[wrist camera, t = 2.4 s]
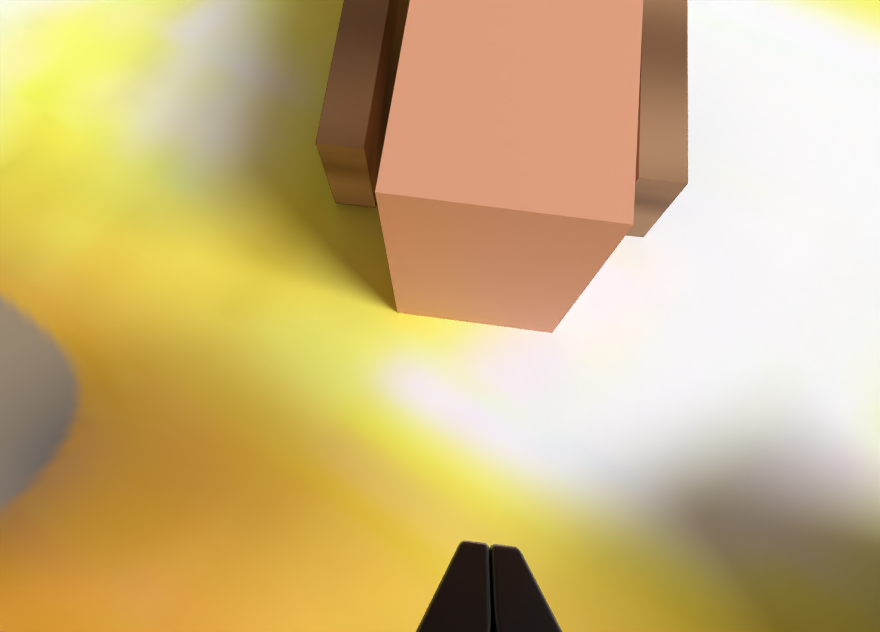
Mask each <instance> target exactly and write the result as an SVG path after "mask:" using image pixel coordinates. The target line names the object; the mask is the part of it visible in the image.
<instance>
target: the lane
mask: <svg viewBox="0 0 880 632" xmlns="http://www.w3.org/2000/svg"><path fill="white" fill-rule="evenodd" d="M408 1H409V0H344V3H343V8H342V13H341V18H340V23H339V28H338V33H337V38H336V43H335V48H334V53H333V58H332V63H331V68H330V73H329V78H328V83H327V88H326V93H325V98H324V104H323V109H322V114H321V119H320V124H319V129H318V134H317V139H316V145H317V148H318V151H319V154H320V157H321V160H322V163H323V166H324V169H325V173H326V176H327V179H328V182H329V185H330V188H331V191H332V194H333V197H334V200H335V203H341V204H350V205H359V206H368V207H375V206H376V194H375V190H376V184H377V179H378V173H379V168H380V162H381V157H382V151H383V146H384V140H385V135H386V129H387V124H388V118H389V113H390V107H391V102H392V96H393V91H394V85H395V80H396V74H397V68H398V63H399V57H400V51H401V45H402V39H403V32H404V26H405V20H406V14H407V7H408ZM687 184H688V75H687V0H643V18H642V40H641V63H640V86H639V108H638V131H637V154H636V176H635V199H634V222H633V226H632V227H631V229H630V230H629V231H628V232H627V234H626V235H630V236H639V237H644V236H645V235H646V233H647V232H648V231H649V230H650V229H651V227H652V226H653V225H654V224H655V223H656V221H657V220H658V219H659V218H660V216H661V215H662V214H663V213H664V212H665V210H666V209H667V208H668V207H669V206H670V204H671V203H672V202H673V201H674V199H675V198H676V197H677V196H678V195H679V193H680V192H681V191H682V190H683V189H684V187H685V186H686V185H687Z"/></svg>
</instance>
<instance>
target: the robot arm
mask: <svg viewBox="0 0 880 632" xmlns="http://www.w3.org/2000/svg"><path fill="white" fill-rule="evenodd" d="M416 632H562V630H561V628H560V627H559V625H558V623H557V621H556V619H555V617H554V615H553V613H552V611H551V609H550V607H549V605H548V603H547V601H546V599H545V597H544V595H543V593H542V592H541V590H540V588H539V586H538V584H537V582H536V580H535V578H534V576H533V574H532V572H531V570H530V568H529V566H528V564H527V562H526V560H525V559H524V557H523V555H522V553H521V551H520V550H519V549H518V548H517V547H514V546H506V545H498V544H494V545H491V546H490V548H489V546H488V545H487V544H486V543H481V542H472V541H462V542H461V543H460V544H459V546H458V548H457V550H456V552H455V554H454V556H453V558H452V560H451V562H450V564H449V566H448V568H447V570H446V572H445V574H444V576H443V578H442V580H441V582H440V584H439V586H438V588H437V590H436V592H435V594H434V596H433V598H432V600H431V602H430V604H429V606H428V608H427V610H426V612H425V614H424V616H423V618H422V620H421V623H420V625H419V627H418V629H417V631H416Z"/></svg>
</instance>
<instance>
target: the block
mask: <svg viewBox="0 0 880 632" xmlns="http://www.w3.org/2000/svg"><path fill="white" fill-rule="evenodd" d="M642 18H643V0H410V2H409V8H408V13H407V19H406V24H405V30H404V35H403V41H402V46H401V52H400V57H399V63H398V68H397V74H396V80H395V85H394V91H393V96H392V102H391V107H390V113H389V118H388V124H387V129H386V135H385V140H384V146H383V151H382V157H381V162H380V168H379V173H378V179H377V184H376V190H375V194H376V200H377V205H378V210H379V216H380V221H381V226H382V232H383V237H384V243H385V248H386V253H387V259H388V264H389V269H390V275H391V280H392V286H393V291H394V296H395V302H396V307H397V312H398V313H405V314H412V315H420V316H428V317H435V318H443V319H451V320H458V321H466V322H474V323H481V324H489V325H497V326H504V327H512V328H519V329H527V330H535V331H542V332H550V333H552V332H553V331H554V329H555V328H556V327H557V325H558V324H559V323H560V321H561V320H562V319H563V317H564V316H565V315H566V313H567V312H568V311H569V310H570V308H571V307H572V306H573V304H574V303H575V302H576V300H577V299H578V298H579V296H580V295H581V294H582V292H583V291H584V290H585V288H586V287H587V286H588V284H589V283H590V282H591V280H592V279H593V278H594V276H595V275H596V274H597V272H598V271H599V270H600V268H601V267H602V266H603V264H604V263H605V262H606V260H607V259H608V258H609V256H610V255H611V254H612V252H613V251H614V250H615V248H616V247H617V246H618V244H619V243H620V242H621V240H622V239H623V238H624V236H625V235H626V234H627V232H628V231H629V230H630V229H631V227H632V226H633V222H634V199H635V176H636V154H637V131H638V108H639V86H640V63H641V40H642Z"/></svg>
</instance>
